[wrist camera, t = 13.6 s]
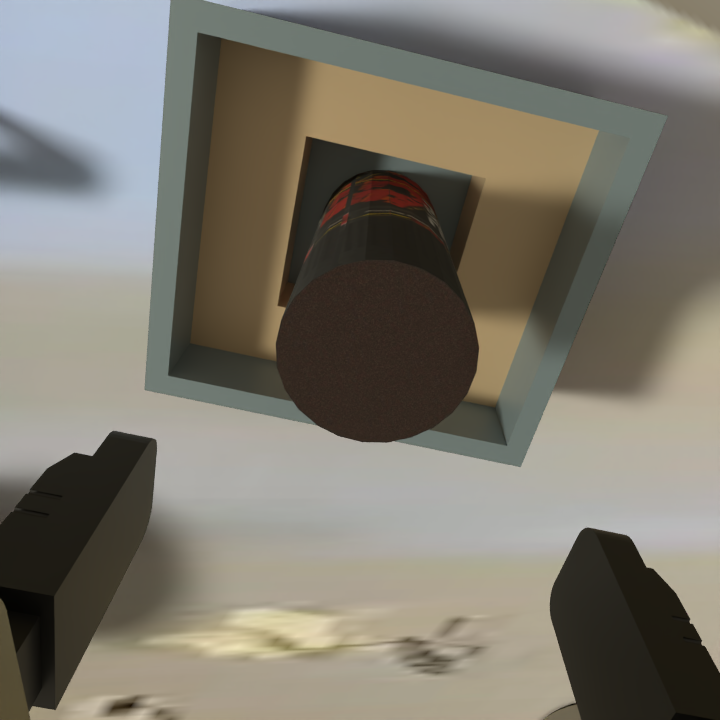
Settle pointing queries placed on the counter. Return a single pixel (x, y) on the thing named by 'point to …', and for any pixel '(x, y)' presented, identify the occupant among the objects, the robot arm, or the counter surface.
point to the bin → (361, 154)
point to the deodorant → (377, 316)
